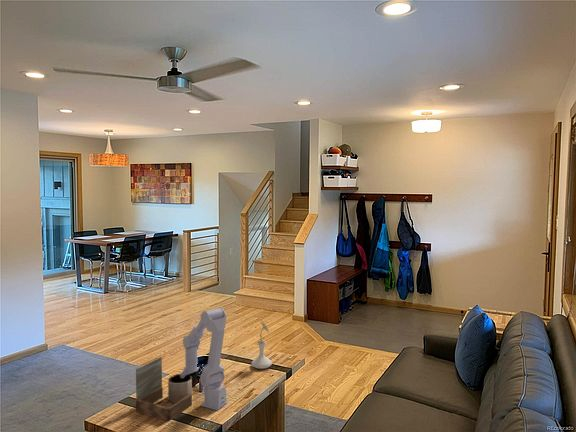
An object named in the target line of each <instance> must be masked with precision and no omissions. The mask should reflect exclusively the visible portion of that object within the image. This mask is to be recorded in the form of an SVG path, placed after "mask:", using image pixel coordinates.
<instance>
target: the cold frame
mask: <svg viewBox="0 0 576 432" xmlns="http://www.w3.org/2000/svg"><path fill="white" fill-rule="evenodd" d="M162 359H163V357H159V358H156V359H154V360H152V361H150V362H148V363H146V364H143V365H142V366H140V367H138V368H136V369H135V385H136V386H135V393H136V395H135V399H136V400H135V402H136V403H135V404H136V405H135V406H136V407H135V408H136V409H135V410H136V412H137V413H140V414H143V415H146V416H147V415H148V416H149V417H150V416H151V417H153V418H156V419H161V420H163V421H167V422H170V421H172V420H173V419H174V418H176V417H177V416H178V415H180V414H181V413H182V412H184V411H186V410H187V409H189V408H190V407H192V406H193V393H192V394H189V395H187V396H186V397H184V398H183V399H181V400H180V401H178V402H177V403H173V404H171V405H170V406H169V407H166V406H163V405H160V404H157V403H156V402H157V401H159V400H161V399H162V398H163V396H164V395H163V390H164V389H163V380H162V379H163V378H162V377H163V375H162V374H163V367H162V365H163V363H162V362H163V361H162Z"/></svg>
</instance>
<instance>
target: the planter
mask: <svg viewBox="0 0 576 432" xmlns="http://www.w3.org/2000/svg"><path fill="white" fill-rule="evenodd" d="M180 374H181V373H177V374H174V375H171V376H170V377H169V378H168V380H167V381H168V383H167V385H168V386H167V388H168V389H167V391H168V392H167V393H168V394H167V398H168V399H167V400H168V401H169V402H171V403H173V404H175V403H177V402H178V401H180V400H181V399H183V398H184V397H186V396H187V395H189V394H192V395H193V388H192V377H191V376H190V375H187V376H185V378H180Z"/></svg>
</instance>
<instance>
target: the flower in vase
mask: <svg viewBox="0 0 576 432" xmlns="http://www.w3.org/2000/svg"><path fill="white" fill-rule="evenodd" d="M260 323H261V326H262V328H261V332H260V333H259V336H260V340H258V341H257V343H256V344H257V345H258V347H259V354H258V355H257V356H256V357H255V358H254V359H253V360H252V361H251V364H250V365H251V366H252V367H253V368H256V369H260V370H262V369H267V368H270V367H271V366H272V364H273V363H272V361H271V359H270V358H268V357H267V356H265V352H264V351H265V345H266V344H267V341H265V340H263V339H265V337H264V336H263V337H262V332H263V330H265V331H266V333H268V334H269V333H270V331H269V328H268V326H267V325H265V322H264V321H263V320H261V321H260Z"/></svg>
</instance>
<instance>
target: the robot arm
mask: <svg viewBox="0 0 576 432" xmlns="http://www.w3.org/2000/svg"><path fill="white" fill-rule="evenodd" d="M226 323H227V313H226V312H225V310H224V308H223V307H217V308H213V309H208V310H203V311H202V312H201V314H200V320H199V322H198V324H197V325H194V326H192V329H191V330H190V332H189V333H188V335H185V336H183V339H182V344H183V347H184V349H185V350H184V351H185V355H184V356H185V357H184V359H185V360H184V361H185V365H184V367H183V370H182V372H181V373H179V374H180V378H185V376H187V375H190V376H191V377H192V389H193V388H195V385H196V380H197V378H198V376H199V373H200V372H199V369H200V368H199V367H197V364H198V350H199V347H200V344H201V341H200V340H201V339H202V337H203V336H204V334H205V329H206V330H207V332H209V333H211V338H210V344H209V350H208V352H209V353H208V360H207V364H206V365H205V367H203V368H202V372H201V374H200V376H199V380H200V384H201V386H202V387H203V388H204V393H203V394H204V398H203V399H204V401H203V402H202V403H201V404H199V405H200V407H204V408H208V409H211V410H215V411H219V410H220V409H221V408H222V407H224V406H225V405H226V404H227V403H228V402H227V389H226V387H224V386H223V385H222V384H223V382H224V380H225V367H223V365H221V359H222V357H221V356H222V350H223V343H224V335H225V328H226Z"/></svg>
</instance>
